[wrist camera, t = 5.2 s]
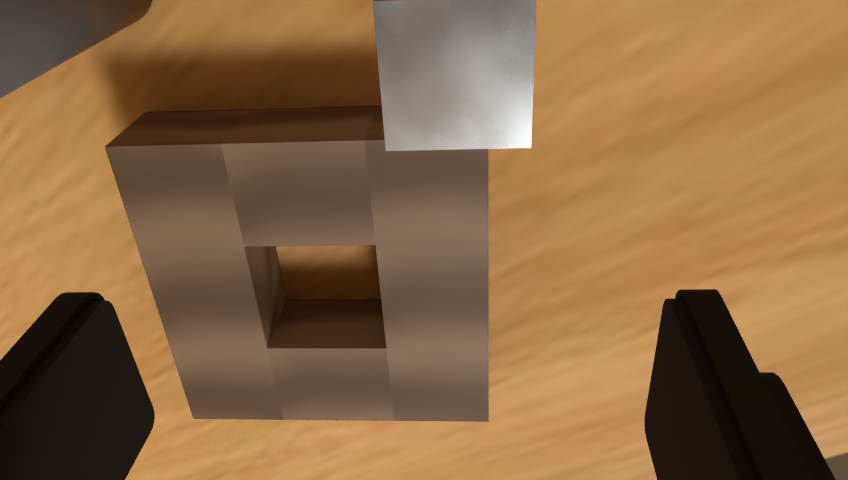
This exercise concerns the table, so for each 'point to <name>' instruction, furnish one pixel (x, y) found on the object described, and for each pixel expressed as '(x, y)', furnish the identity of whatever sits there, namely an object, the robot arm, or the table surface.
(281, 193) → the bore block
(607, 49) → the table surface
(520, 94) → the square bit
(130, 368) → the robot arm
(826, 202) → the table surface
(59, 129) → the table surface
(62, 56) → the round bit
